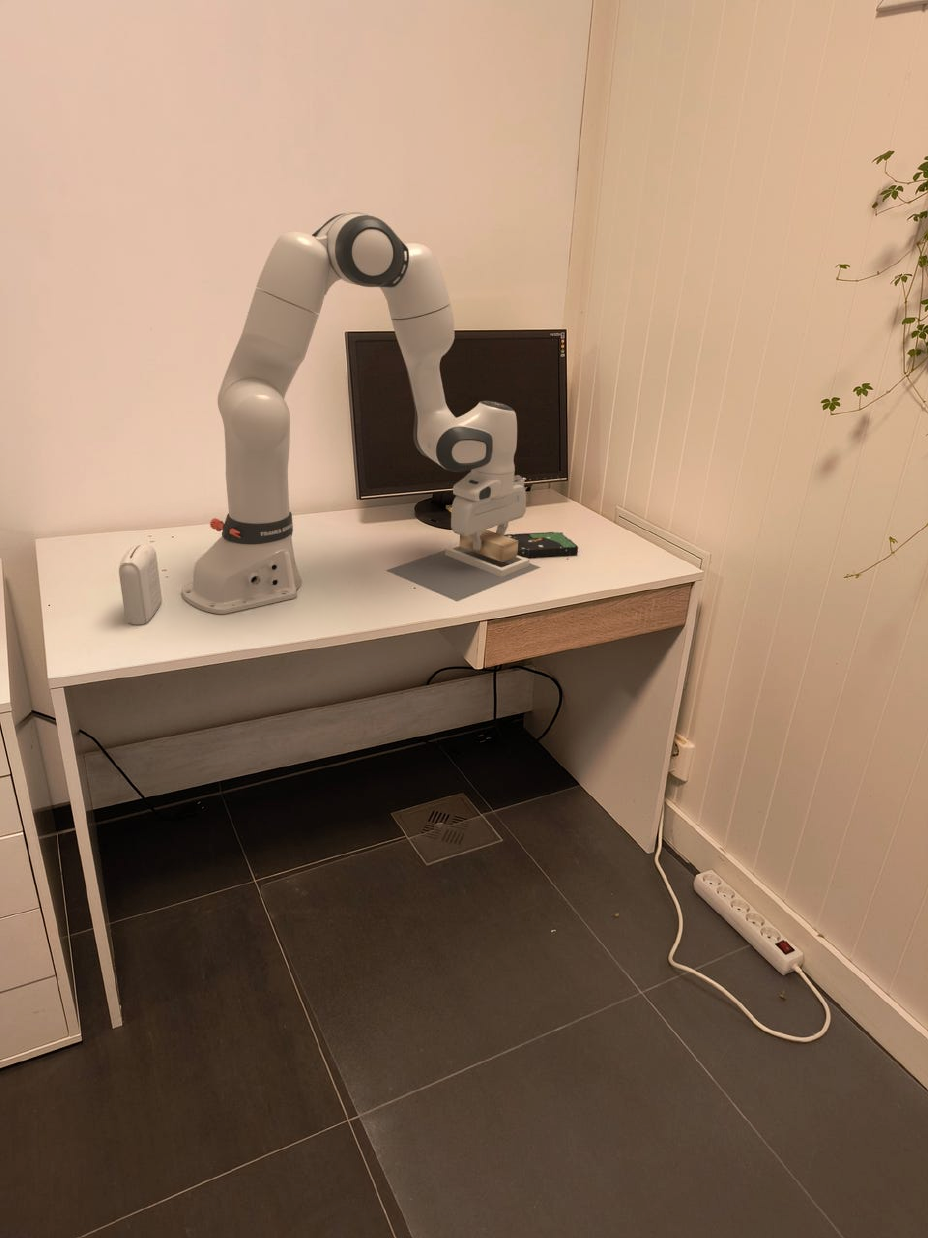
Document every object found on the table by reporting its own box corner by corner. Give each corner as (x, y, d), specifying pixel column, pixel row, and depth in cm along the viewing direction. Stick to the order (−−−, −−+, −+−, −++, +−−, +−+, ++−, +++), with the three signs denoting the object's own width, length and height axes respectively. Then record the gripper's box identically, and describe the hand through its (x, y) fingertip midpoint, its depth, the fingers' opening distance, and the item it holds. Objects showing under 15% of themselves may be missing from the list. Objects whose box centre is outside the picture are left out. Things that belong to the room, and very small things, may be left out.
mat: (457, 603, 153) (457, 593, 152) (385, 572, 165) (385, 563, 164) (540, 568, 171) (541, 560, 170) (470, 543, 183) (471, 535, 182)
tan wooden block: (459, 546, 173) (460, 530, 172) (474, 540, 177) (475, 525, 175) (501, 562, 166) (503, 546, 165) (517, 556, 170) (518, 540, 168)
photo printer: (141, 600, 147) (132, 536, 142) (165, 601, 148) (157, 537, 142) (122, 625, 138) (112, 558, 133) (148, 626, 138) (139, 559, 133)
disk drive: (515, 562, 175) (578, 557, 179) (516, 550, 174) (579, 545, 178) (500, 545, 184) (560, 541, 188) (500, 534, 183) (561, 530, 187)
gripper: (512, 470, 174) (507, 530, 180) (447, 487, 160) (444, 552, 166) (535, 476, 170) (530, 538, 176) (470, 495, 156) (467, 561, 162)
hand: (488, 545), depth 171 cm, fingers closed on tan wooden block, 5 cm apart
